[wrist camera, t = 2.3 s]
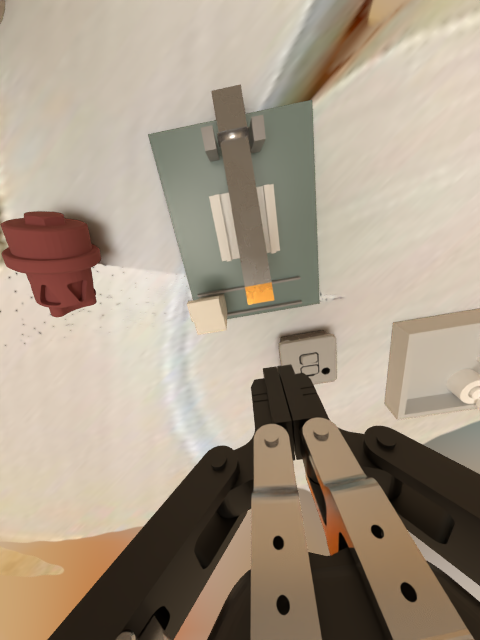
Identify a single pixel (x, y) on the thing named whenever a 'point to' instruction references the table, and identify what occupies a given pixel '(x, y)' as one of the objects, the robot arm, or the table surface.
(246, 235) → the lever
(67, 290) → the mechanical component
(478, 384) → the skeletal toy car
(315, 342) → the electrical switch
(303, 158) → the board
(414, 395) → the tray
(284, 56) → the table surface
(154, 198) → the table surface
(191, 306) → the cream block
